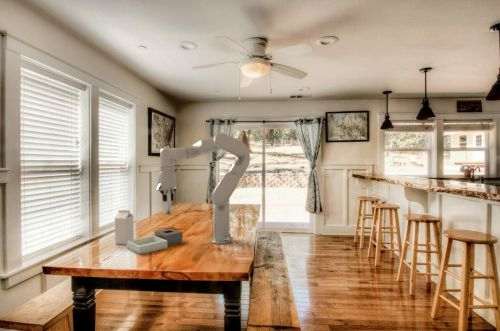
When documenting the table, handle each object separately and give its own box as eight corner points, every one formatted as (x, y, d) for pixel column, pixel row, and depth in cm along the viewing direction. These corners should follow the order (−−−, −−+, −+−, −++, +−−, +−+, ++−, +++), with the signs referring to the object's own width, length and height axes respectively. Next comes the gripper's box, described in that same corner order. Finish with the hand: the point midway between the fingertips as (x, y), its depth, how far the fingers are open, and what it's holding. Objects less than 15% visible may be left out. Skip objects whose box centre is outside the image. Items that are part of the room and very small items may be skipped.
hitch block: (182, 242, 165) (182, 232, 165) (166, 246, 158) (166, 235, 158) (169, 238, 175) (169, 228, 175) (154, 241, 168) (154, 231, 168)
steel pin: (172, 213, 166) (172, 186, 166) (167, 214, 164) (166, 187, 163) (169, 213, 169) (168, 186, 168) (164, 214, 166) (163, 186, 166)
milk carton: (126, 244, 162) (125, 211, 162) (115, 244, 163) (114, 211, 163) (133, 241, 169) (133, 209, 168) (123, 240, 170) (122, 209, 170)
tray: (167, 247, 155) (167, 240, 155) (139, 254, 144) (139, 247, 144) (153, 242, 166) (153, 235, 166) (126, 248, 155) (126, 241, 155)
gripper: (176, 169, 174) (177, 198, 175) (150, 170, 162) (151, 202, 163) (183, 169, 169) (183, 199, 169) (157, 170, 157) (158, 203, 157)
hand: (168, 200), depth 166 cm, fingers closed on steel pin, 3 cm apart
